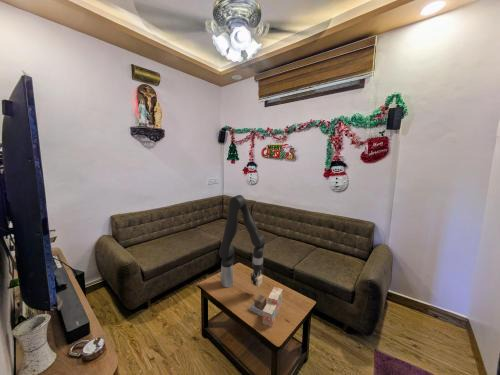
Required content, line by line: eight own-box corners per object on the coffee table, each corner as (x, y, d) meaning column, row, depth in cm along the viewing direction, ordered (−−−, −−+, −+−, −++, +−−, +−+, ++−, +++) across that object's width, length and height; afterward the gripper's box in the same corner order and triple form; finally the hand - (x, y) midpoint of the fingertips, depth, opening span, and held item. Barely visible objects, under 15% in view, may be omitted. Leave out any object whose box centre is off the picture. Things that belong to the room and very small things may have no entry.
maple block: (251, 283, 154) (251, 276, 153) (255, 279, 159) (255, 272, 158) (258, 287, 151) (258, 279, 150) (262, 282, 156) (262, 275, 154)
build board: (248, 309, 141) (248, 307, 141) (258, 298, 151) (258, 297, 151) (262, 316, 135) (262, 315, 135) (271, 305, 145) (271, 304, 145)
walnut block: (254, 306, 142) (254, 298, 141) (258, 301, 147) (259, 293, 146) (261, 310, 139) (261, 302, 138) (266, 305, 144) (266, 297, 142)
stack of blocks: (271, 327, 127) (272, 310, 125) (262, 323, 130) (262, 306, 128) (282, 304, 146) (282, 288, 144) (273, 301, 149) (274, 286, 146)
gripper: (258, 256, 159) (257, 275, 163) (247, 264, 148) (247, 285, 151) (267, 259, 155) (266, 279, 158) (256, 268, 143) (255, 289, 147)
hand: (256, 282), depth 155 cm, fingers closed on maple block, 6 cm apart
